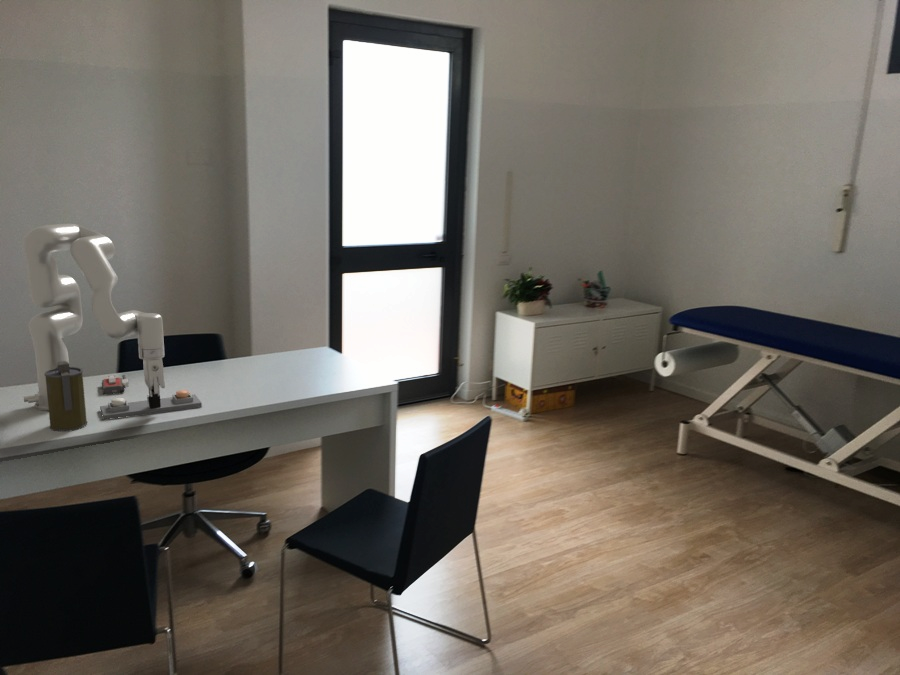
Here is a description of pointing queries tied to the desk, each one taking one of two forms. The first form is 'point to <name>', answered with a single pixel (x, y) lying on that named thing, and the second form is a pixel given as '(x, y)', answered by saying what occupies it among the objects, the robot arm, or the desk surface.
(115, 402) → the button left
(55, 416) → the canister
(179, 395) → the button right
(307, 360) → the desk surface
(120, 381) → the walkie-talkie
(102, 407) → the panel
